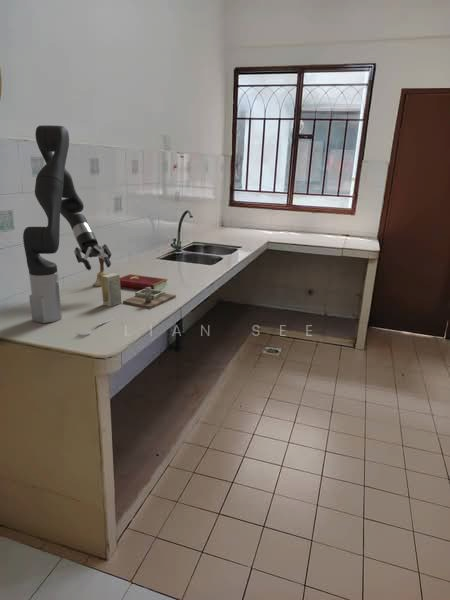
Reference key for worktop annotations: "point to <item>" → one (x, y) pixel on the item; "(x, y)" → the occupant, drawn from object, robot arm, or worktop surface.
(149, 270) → the worktop surface
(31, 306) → the robot arm
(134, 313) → the worktop surface
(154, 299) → the pin board
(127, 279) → the hardcover book
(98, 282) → the hand bell
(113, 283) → the skincare box
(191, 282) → the worktop surface
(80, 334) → the fork
